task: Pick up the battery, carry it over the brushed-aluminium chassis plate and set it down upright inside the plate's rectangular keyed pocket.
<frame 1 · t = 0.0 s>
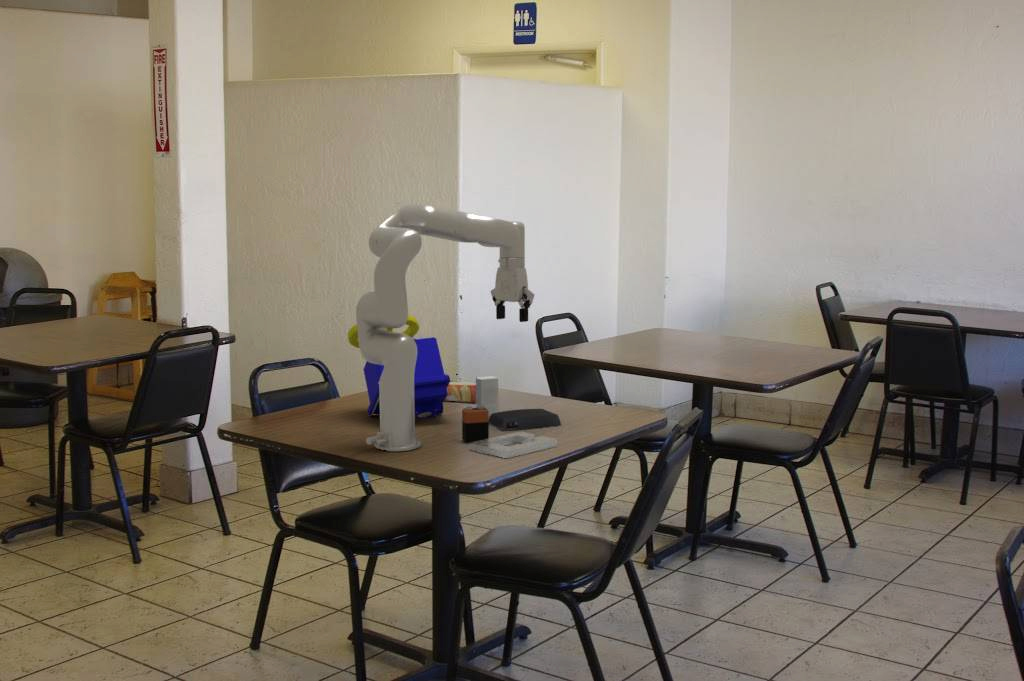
hand: (512, 320, 333), 31 cm above the table, tool pointing down, fingers open, 9 cm apart
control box: (398, 418, 345), on the table
chassis plate: (513, 448, 304), on the table
external hard drive: (524, 426, 334), on the table
battery: (475, 441, 313), on the table
snack package: (450, 401, 372), on the table
skincare box: (487, 415, 348), on the table
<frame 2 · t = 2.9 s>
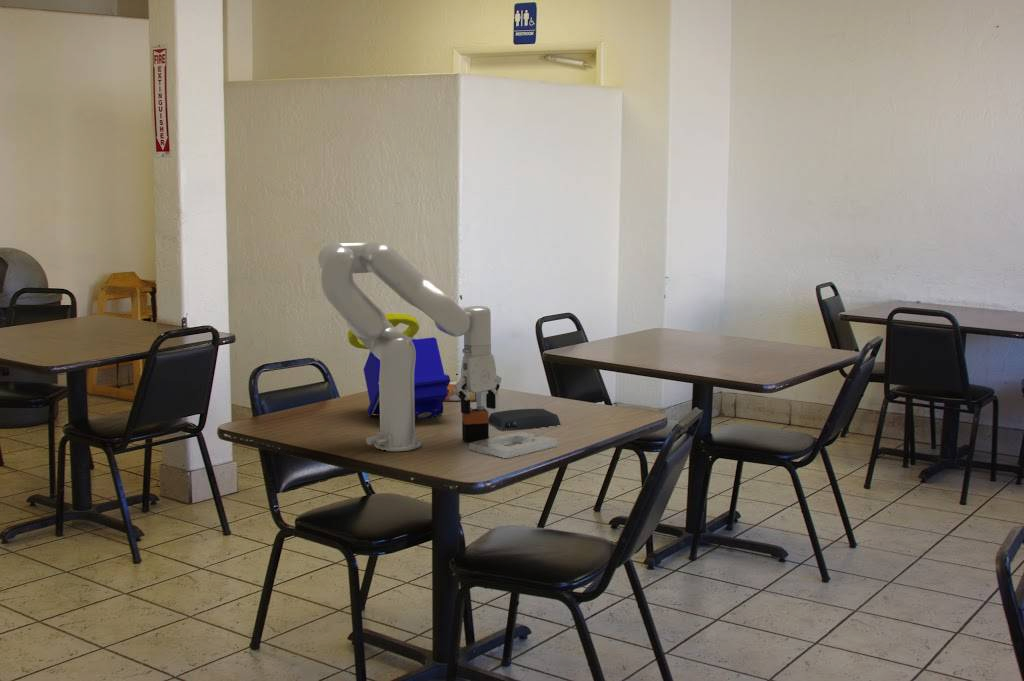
hand: (478, 410, 312), 9 cm above the table, tool pointing down, fingers open, 9 cm apart
battery: (475, 442, 313), on the table, touching gripper
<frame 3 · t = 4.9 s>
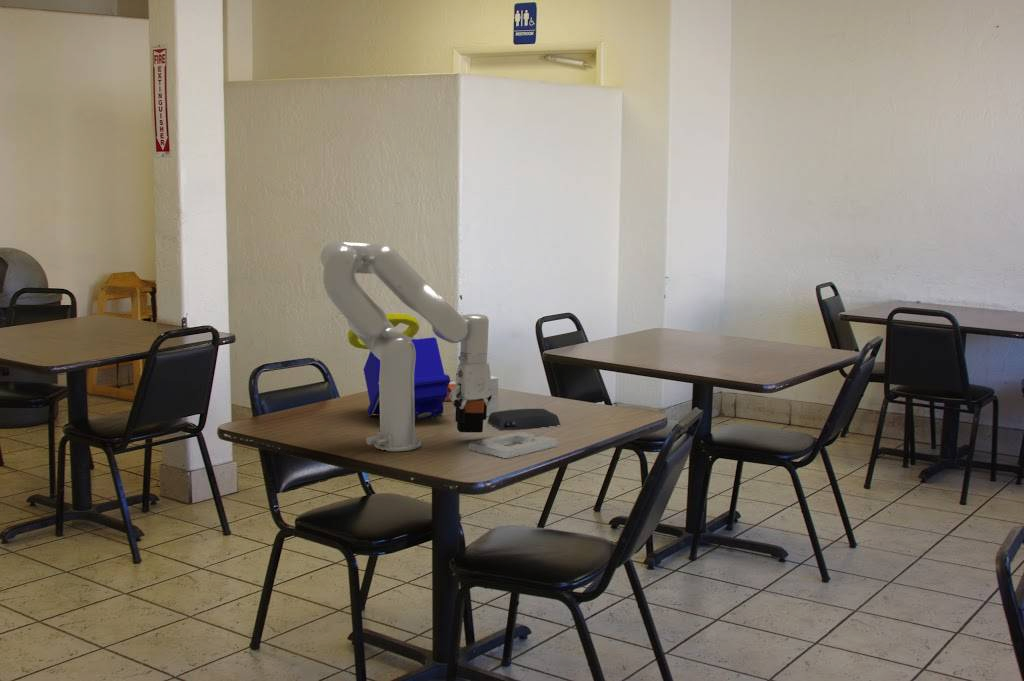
hand: (470, 420, 312), 6 cm above the table, tool pointing down, fingers closed on battery, 7 cm apart
battery: (469, 431, 313), point 3 cm above the table, touching gripper
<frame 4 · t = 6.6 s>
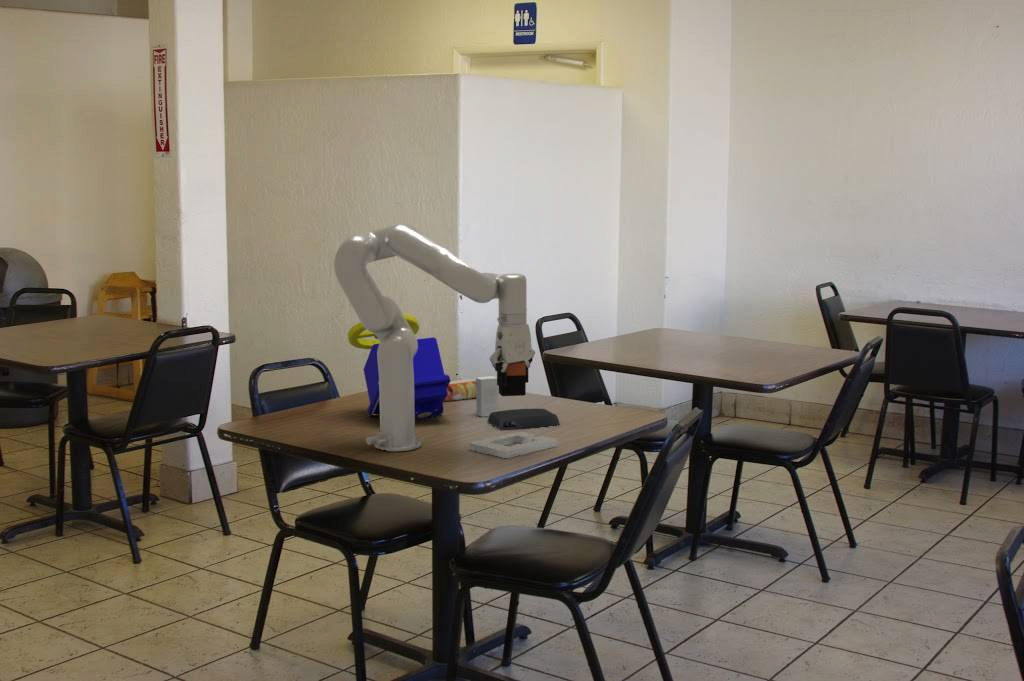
hand: (512, 383, 302), 18 cm above the table, tool pointing down, fingers closed on battery, 7 cm apart
battery: (512, 395, 302), point 15 cm above the table, touching gripper
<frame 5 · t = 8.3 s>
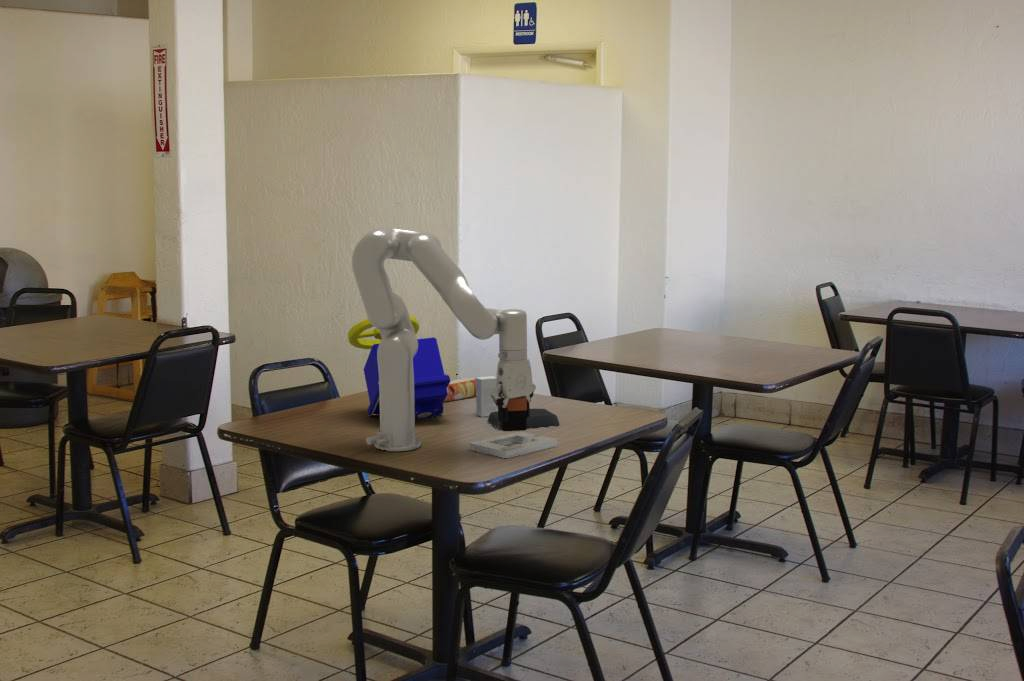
hand: (514, 418, 303), 8 cm above the table, tool pointing down, fingers closed on battery, 7 cm apart
battery: (513, 430, 304), point 5 cm above the table, touching gripper
when the fingers open (4 cm above the table, at t = 9.7 s): battery drops 1 cm, resting in chassis plate.
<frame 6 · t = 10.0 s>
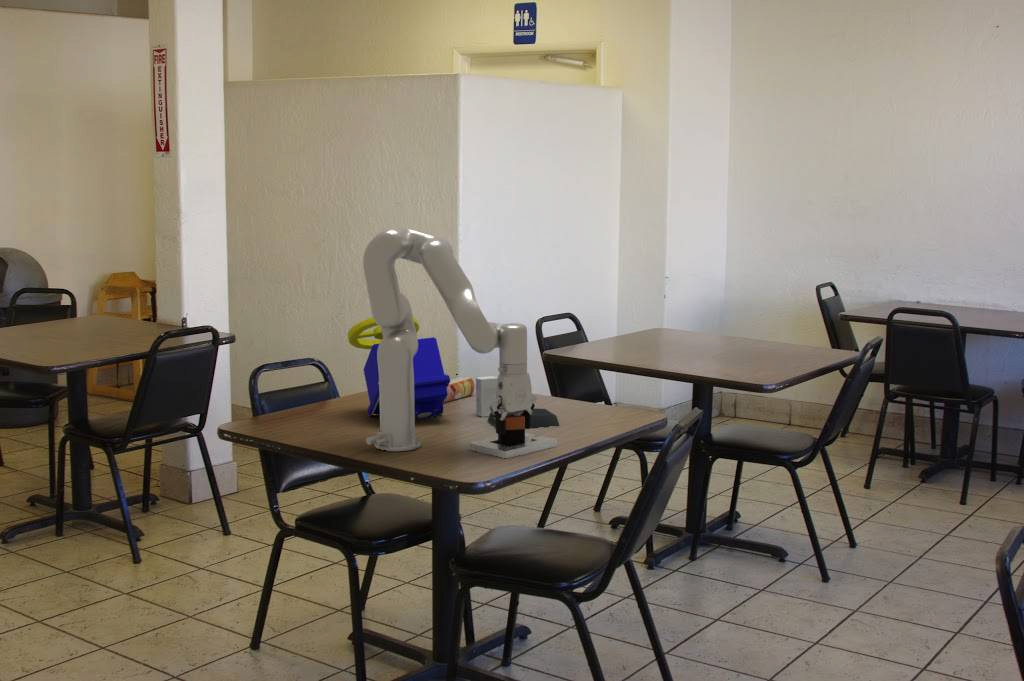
hand: (513, 431, 303), 5 cm above the table, tool pointing down, fingers open, 9 cm apart
battery: (511, 449, 304), resting in chassis plate
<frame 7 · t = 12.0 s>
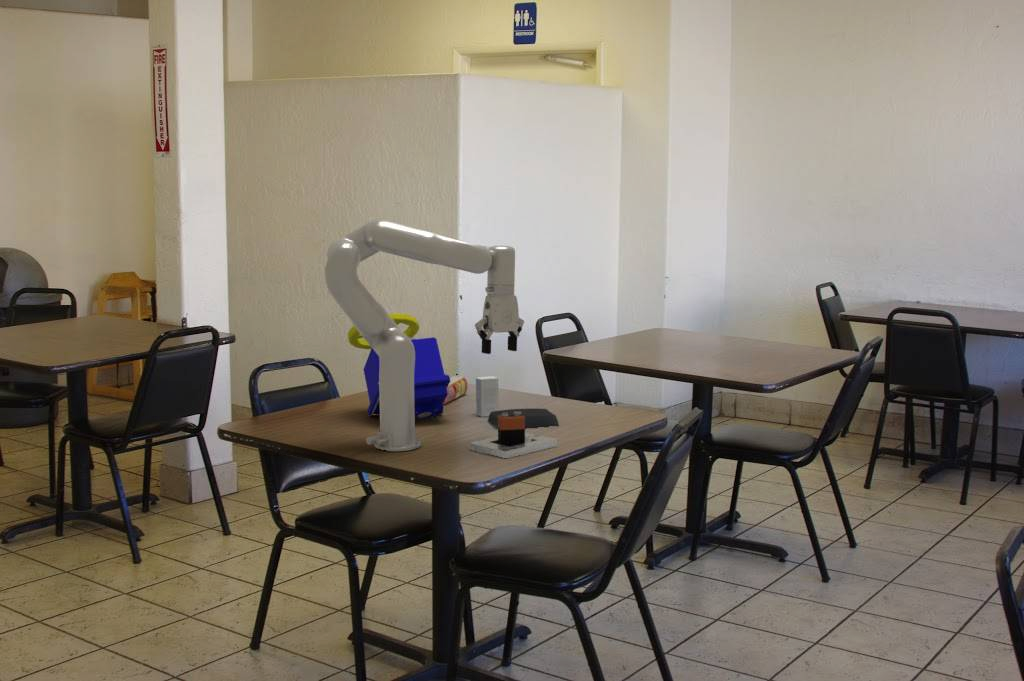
hand: (499, 352, 309), 25 cm above the table, tool pointing down, fingers open, 9 cm apart
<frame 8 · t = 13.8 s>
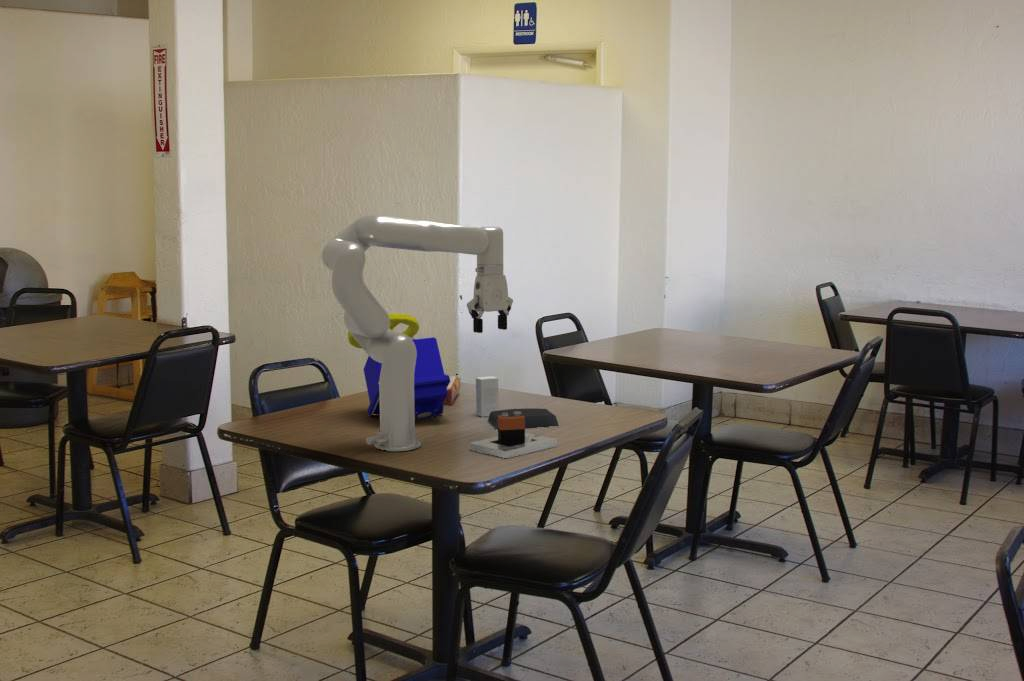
hand: (490, 330, 316), 30 cm above the table, tool pointing down, fingers open, 9 cm apart
at the end: battery inside the target area on the chassis plate (0.5 cm from its centre), point 0.0 cm above the chassis plate's base; battery tilted 0°; the gripper is holding nothing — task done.
